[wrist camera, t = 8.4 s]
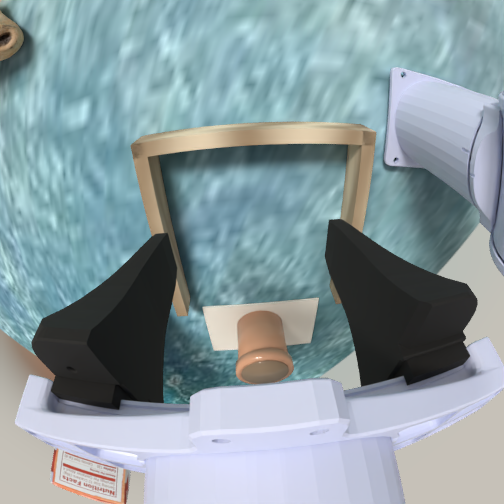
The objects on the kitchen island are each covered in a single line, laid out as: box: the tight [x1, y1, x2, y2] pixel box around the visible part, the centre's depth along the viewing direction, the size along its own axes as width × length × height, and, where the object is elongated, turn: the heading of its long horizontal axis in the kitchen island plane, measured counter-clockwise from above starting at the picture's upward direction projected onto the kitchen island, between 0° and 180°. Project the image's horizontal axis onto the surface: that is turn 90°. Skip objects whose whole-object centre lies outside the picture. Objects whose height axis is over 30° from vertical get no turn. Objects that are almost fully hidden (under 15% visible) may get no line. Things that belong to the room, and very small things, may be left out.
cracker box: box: [50, 448, 131, 504], centre depth 22 cm, size 14×6×21 cm, turn 157°
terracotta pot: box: [236, 311, 294, 384], centre depth 27 cm, size 6×6×6 cm
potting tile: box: [203, 298, 319, 351], centre depth 30 cm, size 12×8×1 cm, turn 93°
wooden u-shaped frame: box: [131, 122, 376, 316], centre depth 21 cm, size 16×16×2 cm
